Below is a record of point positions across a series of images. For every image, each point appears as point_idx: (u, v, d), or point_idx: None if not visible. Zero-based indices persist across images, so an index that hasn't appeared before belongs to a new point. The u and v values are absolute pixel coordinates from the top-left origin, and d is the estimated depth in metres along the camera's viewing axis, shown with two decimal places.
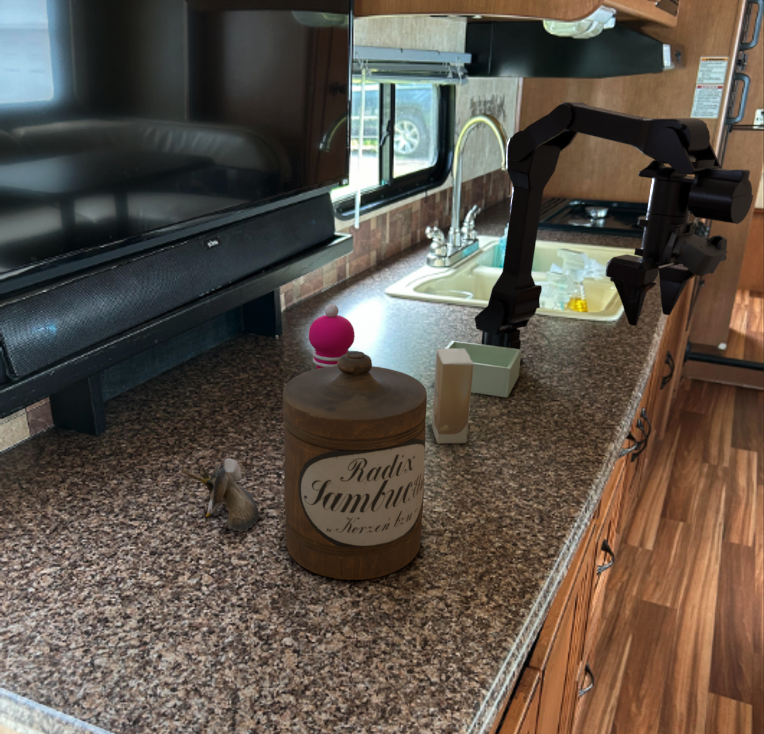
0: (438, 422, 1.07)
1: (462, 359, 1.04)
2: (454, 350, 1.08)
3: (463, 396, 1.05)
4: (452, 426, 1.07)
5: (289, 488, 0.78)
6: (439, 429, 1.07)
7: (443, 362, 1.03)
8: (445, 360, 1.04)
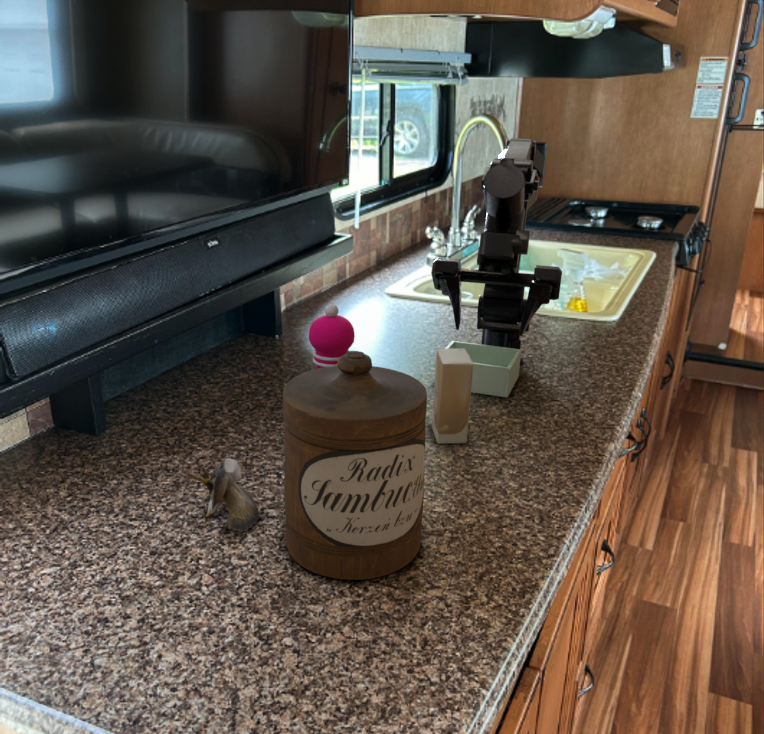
0: (438, 422, 1.07)
1: (462, 359, 1.04)
2: (454, 350, 1.08)
3: (463, 396, 1.05)
4: (452, 426, 1.07)
5: (289, 488, 0.78)
6: (439, 429, 1.07)
7: (443, 362, 1.03)
8: (445, 360, 1.04)
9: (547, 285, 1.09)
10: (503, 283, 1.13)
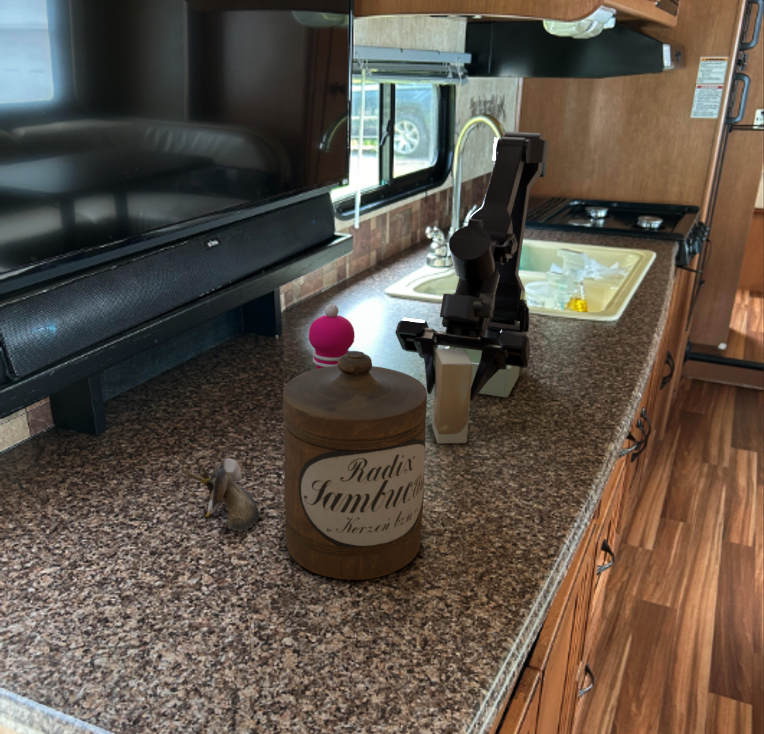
0: (438, 422, 1.07)
1: (462, 359, 1.04)
2: (453, 350, 1.07)
3: (462, 396, 1.05)
4: (451, 426, 1.07)
5: (289, 488, 0.78)
6: (439, 429, 1.07)
7: (442, 362, 1.03)
8: (444, 360, 1.04)
9: (499, 349, 1.05)
10: (469, 347, 1.09)
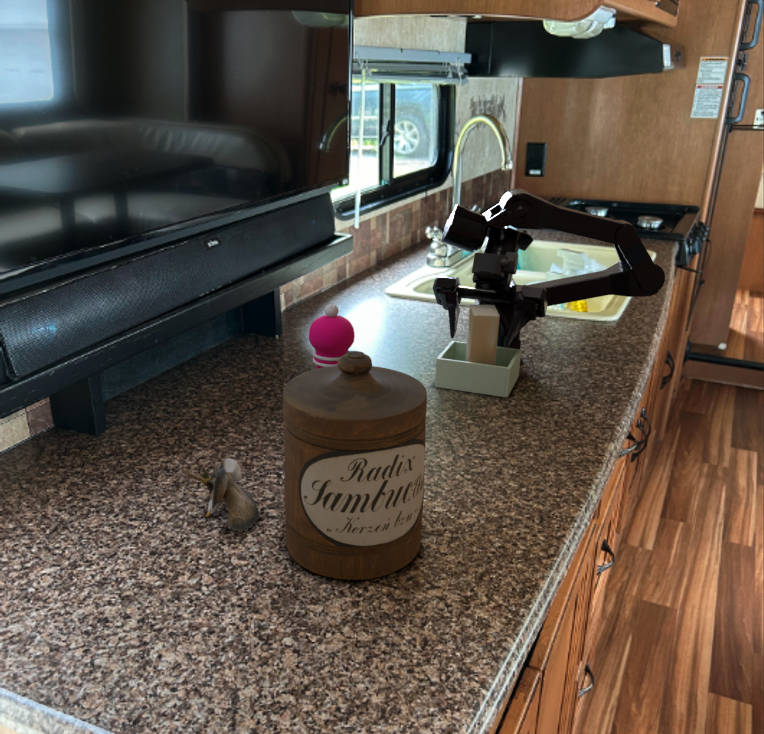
0: None
1: (491, 312, 1.24)
2: (484, 305, 1.27)
3: (490, 344, 1.24)
4: None
5: (289, 488, 0.78)
6: None
7: (474, 314, 1.23)
8: (476, 313, 1.23)
9: (532, 301, 1.23)
10: (495, 300, 1.28)
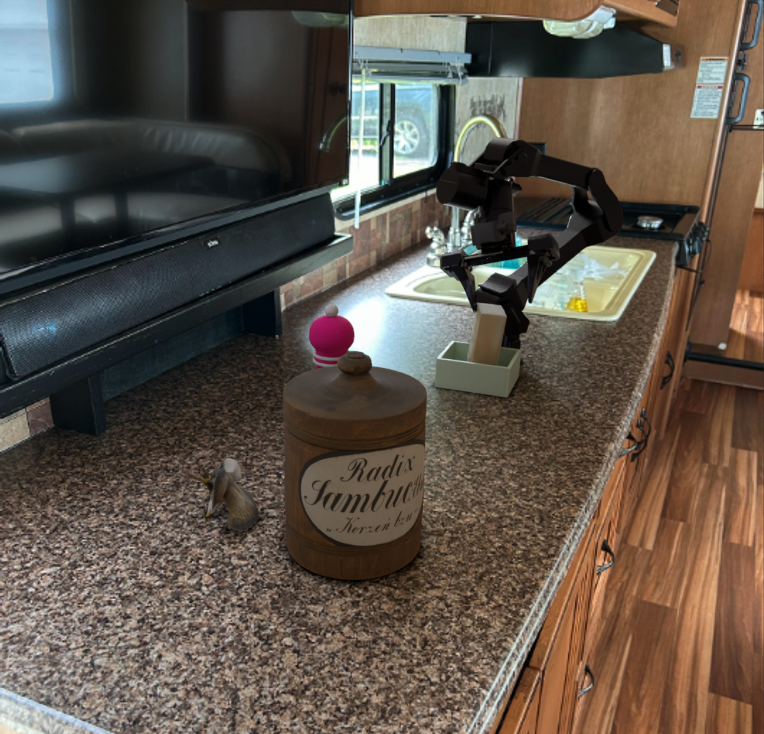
0: None
1: (498, 312, 1.24)
2: (492, 305, 1.27)
3: (495, 343, 1.24)
4: None
5: (289, 488, 0.78)
6: None
7: (481, 312, 1.23)
8: (483, 311, 1.23)
9: (541, 254, 1.20)
10: (505, 259, 1.25)
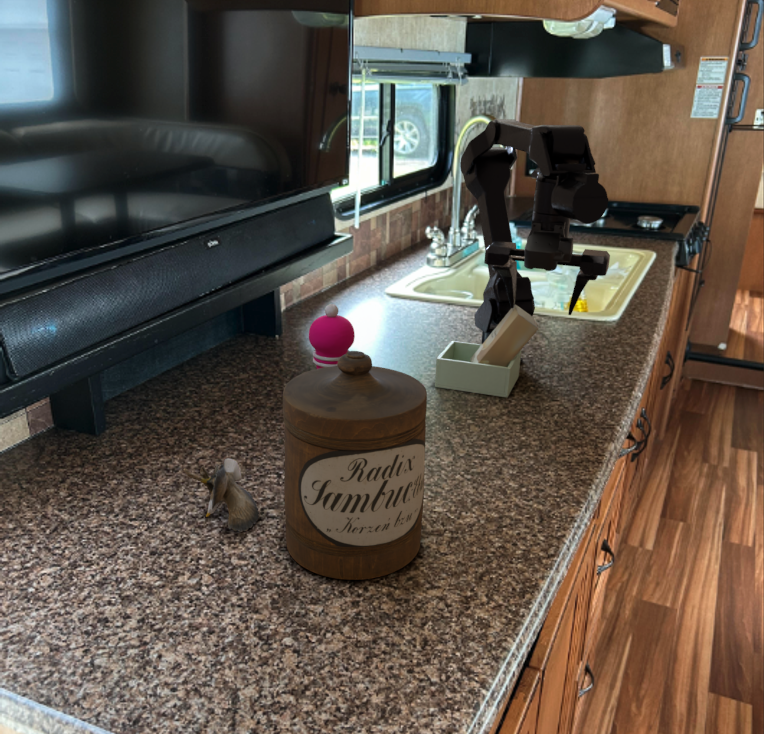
0: (483, 355, 1.26)
1: (532, 321, 1.24)
2: (526, 313, 1.28)
3: (515, 347, 1.25)
4: None
5: (289, 488, 0.78)
6: (481, 361, 1.26)
7: (518, 313, 1.23)
8: (520, 313, 1.24)
9: (592, 279, 1.17)
10: None
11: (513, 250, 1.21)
